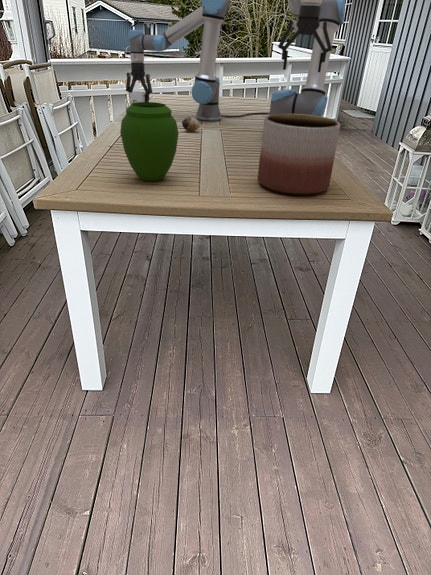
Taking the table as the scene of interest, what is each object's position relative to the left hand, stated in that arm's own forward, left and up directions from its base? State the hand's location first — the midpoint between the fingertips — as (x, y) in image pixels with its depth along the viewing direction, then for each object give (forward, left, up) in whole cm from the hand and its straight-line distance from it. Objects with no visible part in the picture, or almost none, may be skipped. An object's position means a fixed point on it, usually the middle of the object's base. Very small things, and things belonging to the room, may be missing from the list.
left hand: (139, 105), depth 242 cm
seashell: (-17, +44, -6) cm, 48 cm away
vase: (+24, +117, -6) cm, 120 cm away
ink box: (0, 0, -5) cm, 5 cm away
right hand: (-41, +104, +28) cm, 116 cm away
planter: (-23, +137, -6) cm, 139 cm away
